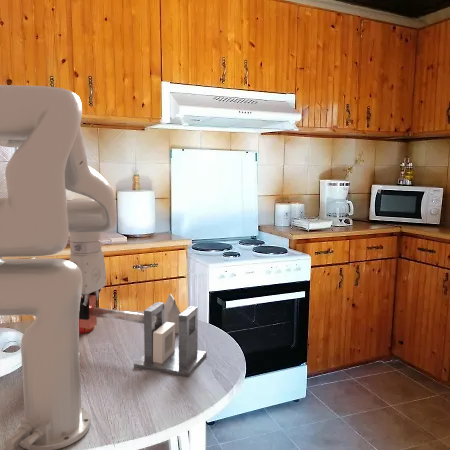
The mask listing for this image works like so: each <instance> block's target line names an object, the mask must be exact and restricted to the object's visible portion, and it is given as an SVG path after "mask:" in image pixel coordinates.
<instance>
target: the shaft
mask: <svg viewBox="0 0 450 450" xmlns="http://www.w3.org/2000/svg"><path fill="white" fill-rule="evenodd" d="M81 297H82V298H83V296H81ZM87 304H89V319H88V320H83V319H80V327H81V328H88V329H90V328H92V327H94V328H95V327H96V326H97V325H98V324H97V322H98V321H97V318H101V319H106V320H114V321H115V320H116V321H122V322H128V323H134V324H135V323H136V324H141V325H144V313H140V312H134V311H133V312H132V311H128V310H127V311H124V310H118V309H110V308H103V307H98V308H96V295H89V294H88V299H87ZM154 319H155V325H157V323H158V316H157V315H155V316H154Z"/></svg>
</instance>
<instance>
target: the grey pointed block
mask: <svg viewBox="0 0 450 450" xmlns="http://www.w3.org/2000/svg"><path fill="white" fill-rule="evenodd" d="M181 313H182V312H181V311H180V309H179V307H178V305H177V303H176V299H175V298H174V296H173V295H172V293H169V294H168V297H167V300H166V301H165V303H164V319H165V323H166V322H171V323H175V333H177V334H179V314H181Z"/></svg>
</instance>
